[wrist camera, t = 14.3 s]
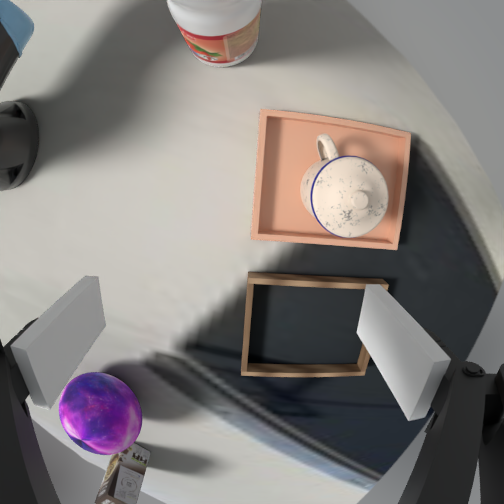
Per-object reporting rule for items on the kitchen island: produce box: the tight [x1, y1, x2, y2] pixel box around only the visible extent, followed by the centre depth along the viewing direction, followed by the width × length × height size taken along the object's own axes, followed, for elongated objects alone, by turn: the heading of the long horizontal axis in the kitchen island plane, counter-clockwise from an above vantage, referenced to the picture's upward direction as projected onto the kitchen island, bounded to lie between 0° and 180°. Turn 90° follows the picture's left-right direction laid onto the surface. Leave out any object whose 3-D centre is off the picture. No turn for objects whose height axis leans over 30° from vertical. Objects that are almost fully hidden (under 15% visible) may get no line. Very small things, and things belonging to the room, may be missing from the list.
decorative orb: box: [59, 372, 142, 455], centre depth 44 cm, size 15×15×15 cm
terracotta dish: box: [251, 109, 411, 250], centre depth 40 cm, size 21×17×3 cm
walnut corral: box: [241, 272, 389, 377], centre depth 46 cm, size 21×17×2 cm
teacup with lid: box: [300, 133, 389, 238], centre depth 35 cm, size 12×9×12 cm
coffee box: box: [95, 443, 151, 504], centre depth 49 cm, size 9×6×16 cm
